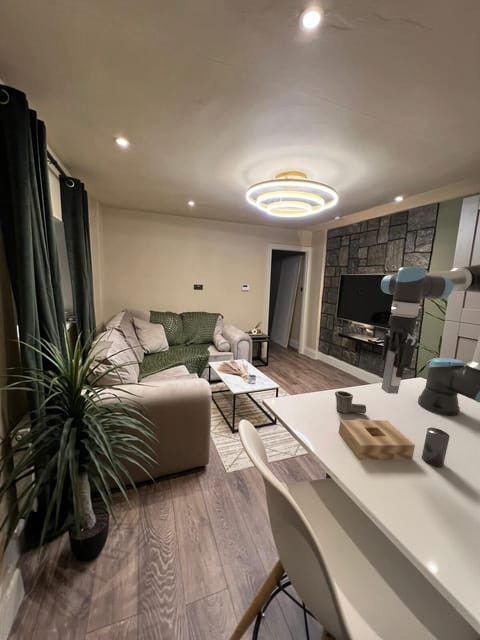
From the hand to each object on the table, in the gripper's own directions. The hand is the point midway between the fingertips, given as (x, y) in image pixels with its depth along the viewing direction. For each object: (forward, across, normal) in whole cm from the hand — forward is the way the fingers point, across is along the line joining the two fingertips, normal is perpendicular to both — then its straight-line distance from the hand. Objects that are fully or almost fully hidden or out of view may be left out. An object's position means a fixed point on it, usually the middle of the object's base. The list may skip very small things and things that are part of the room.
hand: (391, 382), depth 89 cm
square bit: (+3, 0, 0) cm, 3 cm away
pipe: (+22, -19, -2) cm, 29 cm away
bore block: (+22, +3, -5) cm, 22 cm away
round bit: (+21, +11, +10) cm, 26 cm away
